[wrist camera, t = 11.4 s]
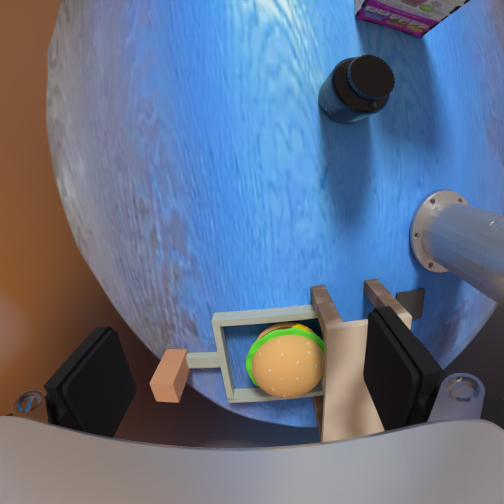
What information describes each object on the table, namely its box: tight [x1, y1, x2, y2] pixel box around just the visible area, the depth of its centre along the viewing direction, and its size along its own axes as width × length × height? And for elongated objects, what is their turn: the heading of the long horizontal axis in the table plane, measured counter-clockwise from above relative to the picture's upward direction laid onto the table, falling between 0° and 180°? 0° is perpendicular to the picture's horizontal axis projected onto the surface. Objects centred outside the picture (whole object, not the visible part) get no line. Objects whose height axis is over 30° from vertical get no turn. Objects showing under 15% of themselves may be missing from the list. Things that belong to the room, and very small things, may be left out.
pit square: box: [396, 289, 425, 319], centre depth 42 cm, size 5×5×1 cm
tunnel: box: [311, 279, 412, 442], centre depth 38 cm, size 10×22×12 cm, turn 6°
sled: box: [150, 304, 325, 403], centre depth 41 cm, size 26×16×9 cm, turn 96°
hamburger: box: [246, 322, 325, 398], centre depth 40 cm, size 12×12×9 cm
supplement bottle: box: [318, 55, 395, 124], centre depth 29 cm, size 7×7×12 cm
